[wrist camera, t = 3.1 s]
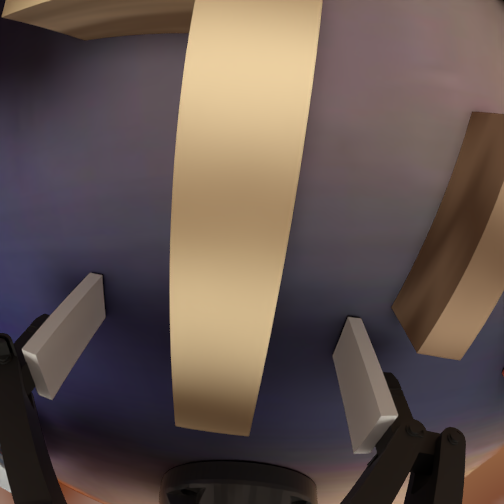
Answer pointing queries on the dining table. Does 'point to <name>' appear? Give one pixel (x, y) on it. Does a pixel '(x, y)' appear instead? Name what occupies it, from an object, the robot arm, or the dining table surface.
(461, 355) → the brown wooden bar
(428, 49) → the dining table surface
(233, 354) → the crook
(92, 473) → the dining table surface
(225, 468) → the robot arm
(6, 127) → the dining table surface
